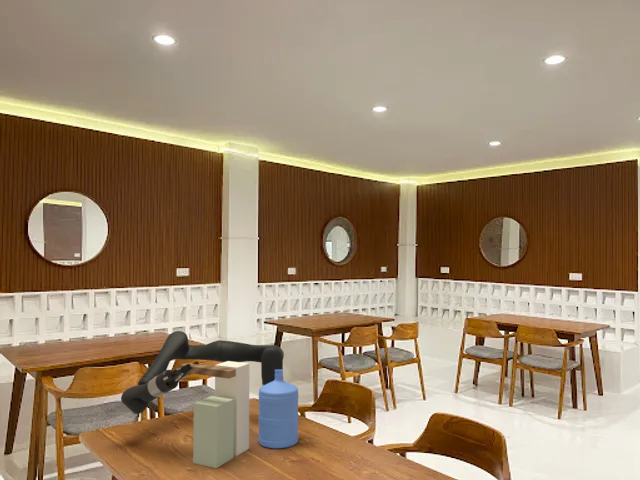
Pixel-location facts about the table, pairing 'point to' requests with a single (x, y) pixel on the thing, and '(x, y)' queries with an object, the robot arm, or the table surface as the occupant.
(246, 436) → the off-white stand
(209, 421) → the sage step
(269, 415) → the water jug
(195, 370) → the walnut plank
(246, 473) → the table surface
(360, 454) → the table surface
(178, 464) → the table surface
